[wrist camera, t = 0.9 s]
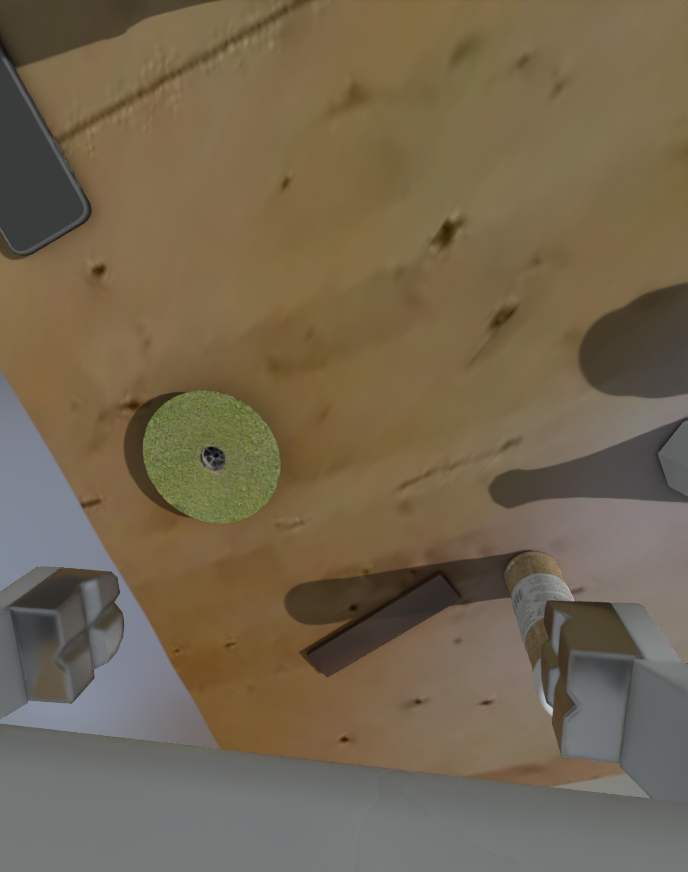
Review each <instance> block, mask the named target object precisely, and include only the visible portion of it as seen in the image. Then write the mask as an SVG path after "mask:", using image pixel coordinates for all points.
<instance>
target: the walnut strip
mask: <svg viewBox="0 0 688 872" xmlns="http://www.w3.org/2000/svg"><path fill="white" fill-rule="evenodd" d="M460 599H461V595H460V594H459V593H458V592H457V590H456V589H455V588H454V587H453V586H452V584H451V583H450V582H449V581H448V580H447V579H446V577H445V576H444V575H443V574H442V573H441V571H439V572H437V573H435V574H434V575H432V576H431V577H429V578H427V579H426V580H424V581H422V582H421V583H419V584H417V585H416V586H414V587H413V588H411V589H409V590H408V591H406V592H404V593H403V594H401V595H400V596H398V597H396V598H395V599H393V600H391V601H390V602H388V603H386V604H385V605H383V606H382V607H380V608H378V609H377V610H375V611H373V612H372V613H370V614H368V615H367V616H365V617H364V618H362V619H360V620H359V621H357V622H355V623H354V624H352V625H351V626H349V627H347V628H346V629H344V630H342V631H341V632H339V633H337V634H336V635H334V636H333V637H331V638H329V639H328V640H326V641H324V642H323V643H321V644H320V645H318V646H316V647H315V648H313V649H311V650H310V651H308V653H307V657H308V658H309V659H310V660H311V661H312V662H313V663H314V664H315V665H316V666H317V667H318V668H319V669H320V670H321V671H322V672H323V674H324V675H325V676H326V677H329V676H331V675H332V674H334V673H336V672H338V671H339V670H341V669H343V668H344V667H346V666H348V665H349V664H351V663H353V662H355V661H356V660H358V659H360V658H361V657H363V656H365V655H367V654H368V653H370V652H372V651H373V650H375V649H377V648H378V647H380V646H382V645H384V644H385V643H387V642H389V641H390V640H392V639H394V638H396V637H397V636H399V635H401V634H402V633H404V632H406V631H407V630H409V629H411V628H413V627H414V626H416V625H418V624H419V623H421V622H423V621H425V620H426V619H428V618H430V617H431V616H433V615H435V614H436V613H438V612H440V611H442V610H443V609H445V608H447V607H448V606H450V605H452V604H454V603H455V602H457V601H459V600H460Z"/></svg>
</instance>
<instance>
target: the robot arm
mask: <svg viewBox="0 0 688 872" xmlns="http://www.w3.org/2000/svg"><path fill="white" fill-rule="evenodd" d="M119 594H120V590H119V584H118V579H117V577H116V576H115V575H114V574H113V573H112V572H109V571H97V570H86V569H74V568H64V567H36V568H35V569H33V570H32V571H30V572H29V573H27V574H26V575H24V576H23V577H21V578H20V579H18V580H17V581H15V582H14V583H12V584H11V585H10V586H8V587H7V588H5V589H4V590H2V591H1V592H0V719H2V718H3V717H5V716H7V715H8V714H10V713H12V712H13V711H15V710H16V709H18V708H20V707H21V706H23V705H25V704H26V703H28V700H29V701H43V702H57V703H71V704H72V703H73V702H74V701H75V700H76V698H77V697H78V696H79V695H80V694H81V693H82V692H83V690H84V689H85V688H86V687H87V686H88V685H89V684H90V683H91V681H92V680H93V679H94V669H96V668H98V667H100V666H102V665H104V664H106V663H108V662H109V661H110V660H111V659H112V657H113V656H114V655H115V654H116V653H117V651H118V648H119V646H120V643H121V641H122V638H123V632H124V618H123V613H122V611H121V610H120V609H119V608H118V606H117V605H116V604H115V603H114V602H115V600H116V598H117V597H118V595H119ZM544 626H545V629H546V632H547V635H548V639H547V640H546V641H545V642H544V643H543V644H542V648H541V680H542V686H543V692H544V696H545V700H546V703H547V704H549V705H550V706H551V707H552V708H553V716H552V725H553V728H554V732H555V735H556V739H557V742H558V746H559V749H560V753H561V756H567V757H574V758H582V759H589V760H597V761H604V762H612V763H619V764H620V767H621V768H622V769H623V770H624V771H625V772H626V773H627V774H628V775H629V776H630V777H631V778H632V779H633V780H634V781H635V782H636V783H637V784H638V785H639V786H640V787H641V789H643V791H644V792H645V793H646V794H647V795H648V796H649V797H650V798H651V799H649V798H640V797H631V796H623V795H615V794H606V793H597V792H589V791H579V790H571V789H562V788H554V787H546V786H537V785H528V784H519V783H511V782H502V781H493V780H485V779H476V778H467V777H459V776H450V775H441V774H432V773H424V772H415V771H406V770H398V769H389V768H380V767H371V766H363V765H354V764H345V763H337V762H328V761H319V760H311V759H302V758H293V757H284V756H276V755H267V754H258V753H250V752H241V751H232V750H224V749H214V748H206V747H198V746H188V745H179V744H172V743H163V742H154V741H146V740H136V739H127V738H119V737H110V736H102V735H94V734H85V733H76V732H68V731H59V730H50V729H42V728H32V727H24V726H16V725H7V724H0V872H688V663H682V661H681V660H680V658H679V657H678V655H677V654H676V653H675V651H674V650H673V648H672V647H671V645H670V644H669V642H668V641H667V640H666V638H665V637H664V635H663V634H662V632H661V631H660V629H659V628H658V627H657V625H656V624H655V622H654V621H653V619H652V618H651V616H650V615H649V613H648V612H647V611H646V609H645V608H644V606H642V605H640V604H635V603H607V602H582V601H557V600H549V601H547V602H546V606H545V612H544Z"/></svg>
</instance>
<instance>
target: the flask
mask: <svg viewBox="0 0 688 872" xmlns="http://www.w3.org/2000/svg"><path fill="white" fill-rule="evenodd" d="M658 456H659V459H660V462H661V465H662V468H663V471H664V474H665V477H666V480H667V483H668V486H669V487H671V488H673V489H675V490H676V491H678V492H680V493H682V494H684V495H686V496H687V497H688V420H687V421H684V422H683V423H682V424H681V425H680V427H679V428H678V429H677V430H676V432H675V433H674V434H673V435H672V437H671V438H670V439H669V440H668V442H667V443H666V444H665V445H664V447H663V448H662V449H661V450H660V451H659V453H658Z"/></svg>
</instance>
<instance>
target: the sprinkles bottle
mask: <svg viewBox="0 0 688 872" xmlns="http://www.w3.org/2000/svg"><path fill="white" fill-rule="evenodd" d="M505 582H506V585H507V587H508V588H509V591H510V594H511V597H512V604H513V608H514V611H515V615H516V618H517V622H518V625H519V629H520V632H521V636H522V639H523V643H524V646H525V649H526V651H527V653H528V656H529V659H530V662H531V665H532V668H533V682H534V685H535V689H536V692H537V695H538V698H539V701H540V703H541V705H542V707H543V708H544V709H545V711H546V712H547V713H548V714H550V715H551V716H553V708H552V707H551V706H550V705H549V704H547V703H546V700H545V696H544V692H543V686H542V680H541V648H542V644H543V643H544V642H545V641H546V640H547V639H548V635H547V632H546V629H545V626H544V612H545V606H546V602H547V601H549V600H557V601H574V599H573V597H572V595H571V592H570V590H569V588H568V587H567V585H566V584H565V582H564V580H563V578H562V576H561V571H560V568H559V566H558V564H557V563H556V561H555V560H554V559H553V558H551V557H550V556H549V555H547V554H544V553H541V552H535V551H531V552H524V553H521V554H520V555H518V556H516V557H514V558H513V559H512V560H511V561H510V562H509V564H508V565H507V567H506V571H505Z"/></svg>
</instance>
